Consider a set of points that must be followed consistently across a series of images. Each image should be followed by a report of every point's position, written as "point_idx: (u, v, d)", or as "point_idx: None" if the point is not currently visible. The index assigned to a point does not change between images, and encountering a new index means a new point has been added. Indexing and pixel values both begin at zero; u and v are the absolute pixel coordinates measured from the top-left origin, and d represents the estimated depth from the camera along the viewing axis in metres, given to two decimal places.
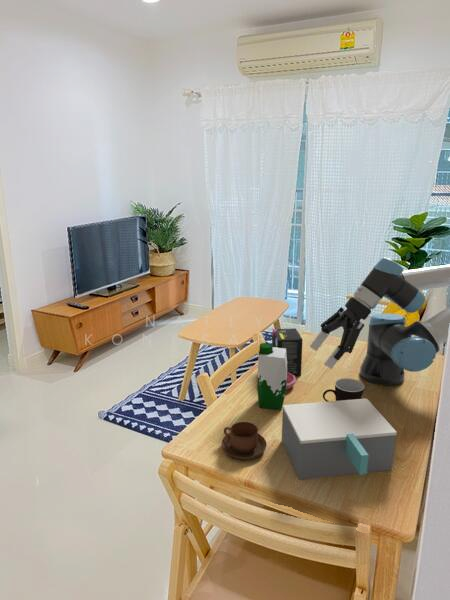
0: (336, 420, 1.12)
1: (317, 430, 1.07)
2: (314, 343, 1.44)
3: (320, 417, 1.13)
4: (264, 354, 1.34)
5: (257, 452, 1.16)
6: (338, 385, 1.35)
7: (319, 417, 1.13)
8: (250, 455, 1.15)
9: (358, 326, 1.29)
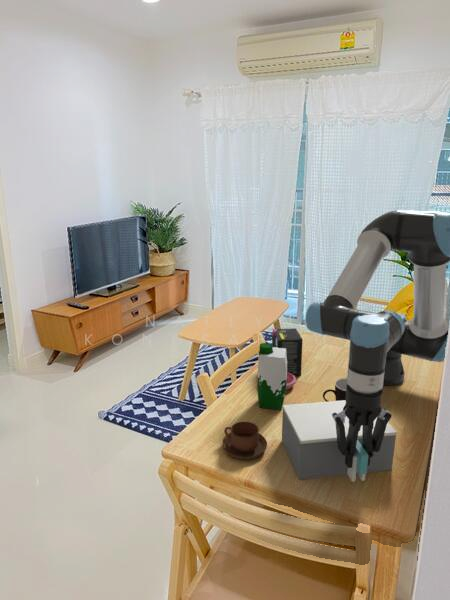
0: None
1: (317, 430, 1.07)
2: None
3: (320, 417, 1.13)
4: (264, 354, 1.34)
5: (258, 452, 1.16)
6: (338, 385, 1.35)
7: (319, 417, 1.13)
8: (251, 455, 1.15)
9: None
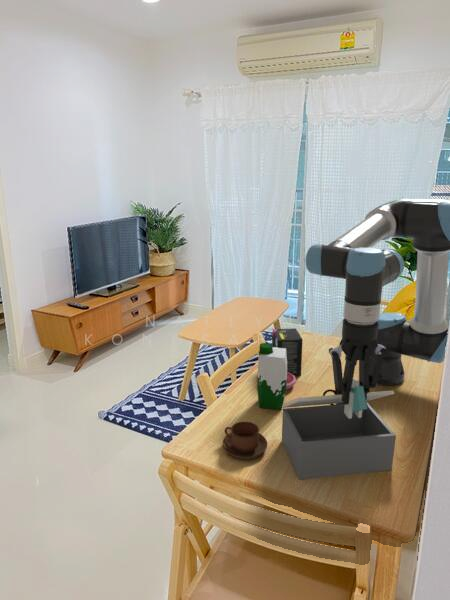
0: None
1: None
2: None
3: None
4: (264, 354, 1.34)
5: (258, 452, 1.16)
6: None
7: None
8: (251, 455, 1.15)
9: None
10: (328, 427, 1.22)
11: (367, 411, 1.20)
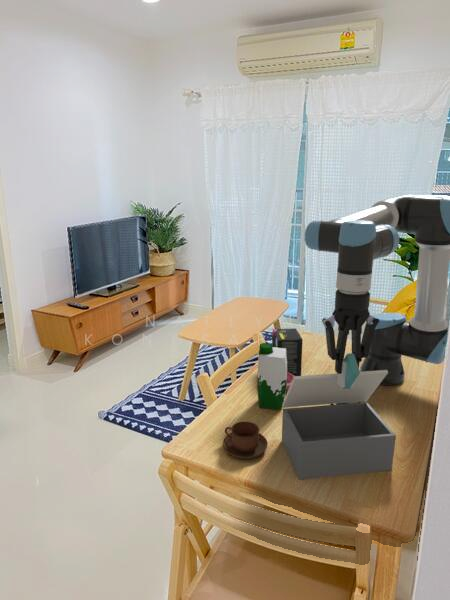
0: None
1: None
2: None
3: None
4: (264, 354, 1.34)
5: (258, 452, 1.16)
6: None
7: None
8: (251, 455, 1.15)
9: None
10: (328, 427, 1.22)
11: (367, 411, 1.20)
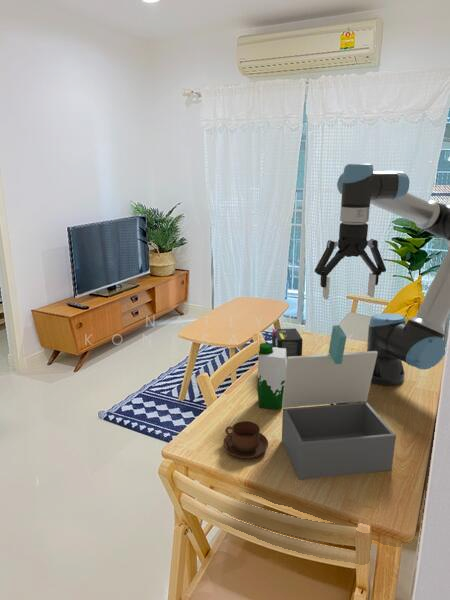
0: None
1: None
2: None
3: None
4: (264, 354, 1.34)
5: (259, 451, 1.17)
6: None
7: None
8: (252, 454, 1.16)
9: None
10: (328, 427, 1.22)
11: (367, 411, 1.20)
